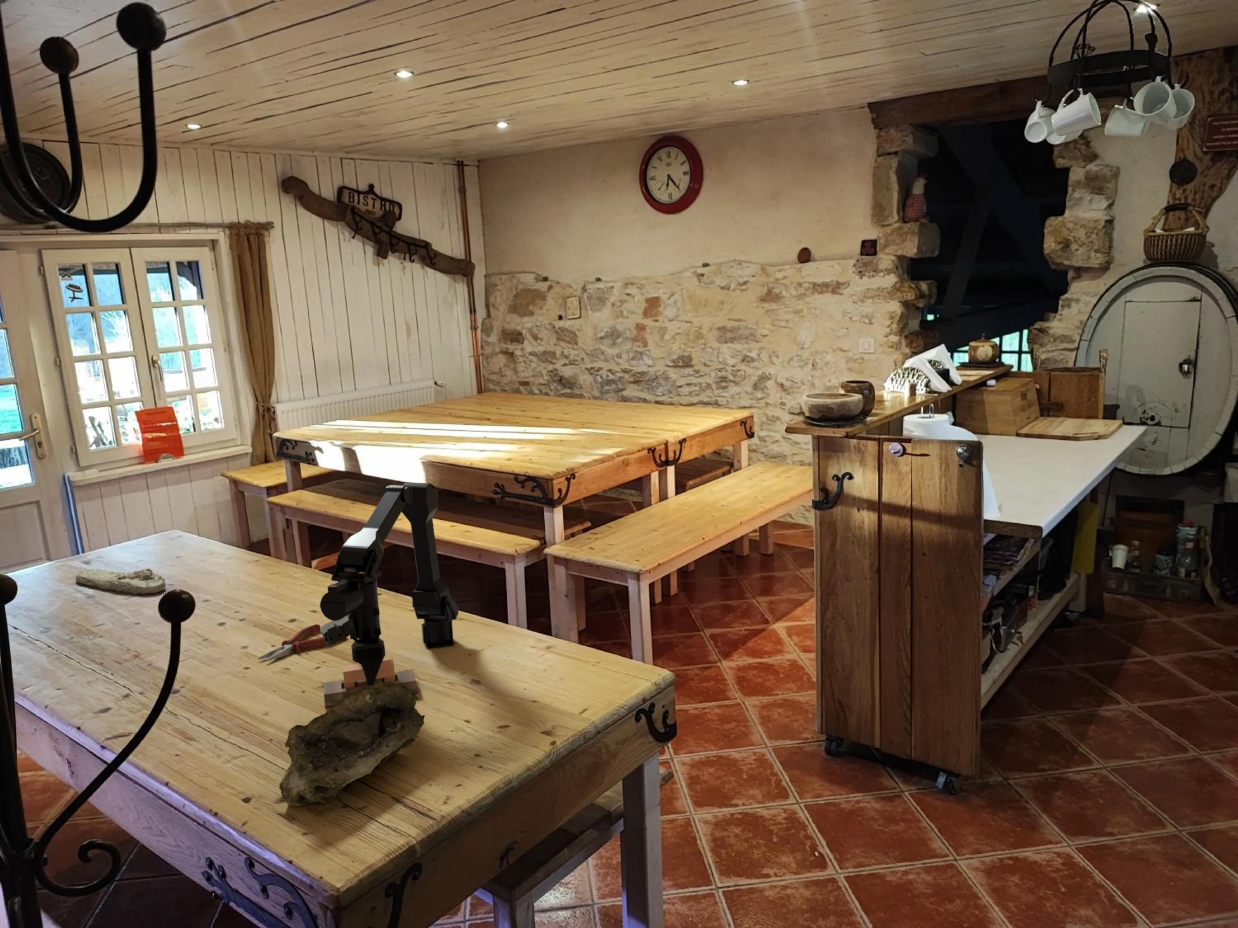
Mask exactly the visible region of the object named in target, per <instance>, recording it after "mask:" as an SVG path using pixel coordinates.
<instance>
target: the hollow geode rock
mask: <svg viewBox="0 0 1238 928" xmlns="http://www.w3.org/2000/svg"><path fill="white" fill-rule="evenodd" d="M417 700H419V697H418V696H417V694H416V695H415V694H413V693H412V692H411V691H410V690H409V689H408V688H406V687H405V686H404V685H402V684H400V683H398V684H394V683H392V684H391V683H390V684H387V685H386V684H384V685H382V686H380V687H377V688H366V687H365V688H362V689H359V690H357V691H355V692H354V693H350V694H348V695H347V696H346V697H344V698H343V699H342V700H341V701H339V702H338V703H337V704H336V705H335V707H332V709H330V710H328V711H326V712H325V713H323V714H320V715H318V716H316V717H314V718H312V719H311V720H310V721H309V722H308V723H307V724H304V725H303V724H296V725H293V727H291V728H290V729H289V730H288V734H287V740H286V741H285V743H284V745H285V748H288V751H287V754H288V757H289V758H290V762H291V763H290V765H289V766H288V767H287V769H286V771H285V773H284V774H283V776H282V779H281V781H280V782H279V786H278V787H279V790H280V794H281V797H282V799H283V801H284V802H285V803H286V804H287V805H289V806H291V807H301V806H307V805H309V804H312V803H317V802H318V803H322V804H325V805H326V806H327V805H329V804H330V802H332V800H334V798H335V797H336V796H337V795H338V794H339V792H341V791H342V790H344V789H346V787H347V785H348V784H350V783H352V782H354V781H356V780H358V779H360V778H362V777H364V776H366V775H369V774H372V772H373V769H374V768H375V767H377V766H378V765H382V764H383V763H385V762H386V761H388V760H390V758H392V757H394V756H395V755H396V754H398V752H400V751H401V750H403V749H405V748H408V747H410V745H412V743H413V742H414V741H415V738H416V736H417V735H418V734H419V733H420V732H421V729H422V727H423V726H424V725H425V715H426V714H424V715H421V713H420V712H419V711H418V709H417V708H415V707H416V706H417V705H416V704H417V702H416V701H417Z"/></svg>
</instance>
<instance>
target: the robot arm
mask: <svg viewBox="0 0 1238 928" xmlns="http://www.w3.org/2000/svg"><path fill="white" fill-rule="evenodd" d="M438 508H439V491H438V488H437V487H436V486H435V485H434V484H433V483H428V482H404V483H403V484H389V485H387V486H385V488H384V492H383V495H382V497H381V499H380V501H379V502H378V504H377V506H376V507H375V509H374V510H373V511H372V513H371V515H370V517H369V518H368V520H367V521H366V523H365V525H364V526H363V527H362V529H361V530H359V532H357V533H355V534H353V535H351V536H350V537H349V538H348V539H347V540H346V541H345V543H344V544H342V545H341V546H342V547H341V548H340V549H339V552H338V555H337V558H336V563H335V566H334V568H333V571H332V575H331V581H332V582H335V583H331V584H330V585H328V586H327V592H326V593H324V594H323V595H322V597H321V599H320V602H319V606H320V607H319V608H320V611H321V614H323V616H324V617H325V618H327V619H328V620H330V621H328V622H327V623H325V624H323V625H322V626H320V628H321V630H320V633H321V635H322V637H324V641H325V642H326V643H327V645H328V647H332V646H334V645H336V644H337V643H336V642H338V641H340V640H342V639H344V638H346V639H347V638H348V637H349V638H350V640H352V641H353V643H352V644H351V646H350V647H351V648H350V649H351V656H352V657H351V658H352V661H353V662H354V663H357V664H361V665H362V668H363V671H364V675H365V678H366V681H367V684H368V685H369V686H370V685H373V684H374V682H375V679H376V677H377V674H378V671H379V668H380V666H381V663H382V661H383V660H384V659H385V657H386V646H385V641H384V640H383V639H381V638H380V637H381V635H382V629H381V621H380V620H381V619H380V615H381V614H380V607H379V596H378V595H379V594H378V582H377V578H379V577H381V576H382V571H380V570H378V568H379V566H380V564H381V562H382V560H383V557H384V554H385V551H384V544H385V541H386V539H387V537H388V535H389V534H390V532H391V530H392V529H393V528H394V526H395V524H396V522H397V520H398V519H399V517H400V515H401V514H403V515H404V517H405V518H406V519H407V521H408V522H409V523H410V530H411V536H412V545H413V550H414V559H415V566H416V572H417V581H418V582H417V584H416V586H415V588H414V590H412V591H411V594H410V596H411V600H412V606H411V607H412V608H413V610H414V613H415V616H416V619H417V620H423V622H422V624H421V634H422V636H421V638H422V642H423V644H425V647H426V649H433V648H440V647H441V648H442V647H447V646H454V645H455V644H456V643H455V640H454V631H453V628H454V627H453V621H456V620H457V619H458V616H459V609H460V607H459V605H458V604H457V602H455V601H454V599H453V598H452V596H451V594H450V592H451V591H450V589H449V586H448V585H447V583H446V582H445V581H444V580H443V579H442V577H441V574H440V567H439V561H438V559H439V558H438V551H437V544H436V543H437V542H436V536H435V528H434V521H433V518H434V516H435V515H436V512H437V510H438ZM346 571H347V572H346ZM356 572H357V573H356ZM342 641H343V640H342ZM340 642H341V641H340ZM335 643H336V644H335ZM338 643H339V642H338Z"/></svg>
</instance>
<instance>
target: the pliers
mask: <svg viewBox="0 0 1238 928" xmlns="http://www.w3.org/2000/svg"><path fill="white" fill-rule="evenodd" d="M319 632H321V625H320V624H315V623H314V624H313V625H310V626H307V627H305V628H301V630H299V631H298V632H297V633H296V634H295V635H294V636H293V637H292V638H291V639H289V640H288V639H286V640H283V641H282V642H281V646H278V647H276V648H274V649H272V650H270V651H268V652H267V653H264V654H263V655H261V656H260V657H258V660H265V662H269V661H273V660H277V659H280V658H283V657H286V656H288V655H290V654H292V653H293V654H294V653H296V654H297V655H298V654H301V652H303V651H309V650H314V649H318V648H323V647H327V646H328V645H327V643H326V642H325V641H324V637H323V636H322V637H316V638H311V639H307V640H304V639H305V638H307V637H309V636H311V635H314V634H316V633H319ZM344 640H347V637H346V638H344V639H342V640H340V641H338V642H336V643H335V644H334V645H336V644H337V643H340V642H343V641H344ZM328 647H329V646H328Z"/></svg>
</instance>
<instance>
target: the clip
mask: <svg viewBox="0 0 1238 928" xmlns="http://www.w3.org/2000/svg"><path fill="white" fill-rule="evenodd" d="M395 672H396V671H395V663H394V659H391V658H390V659H385V660H384V659H383V661H382V663H381V666H380V668H379V671H378V674H377V677H376V679H378V678H384V680H385V682H392V681H395ZM342 675H343V680H344V689H345V688H352V687H355V684H354V682H358V681H365V680H366V678H365V675H364V671H363V668H362V665H361V664H359V663H357V664H349V665H343V666H342Z"/></svg>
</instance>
